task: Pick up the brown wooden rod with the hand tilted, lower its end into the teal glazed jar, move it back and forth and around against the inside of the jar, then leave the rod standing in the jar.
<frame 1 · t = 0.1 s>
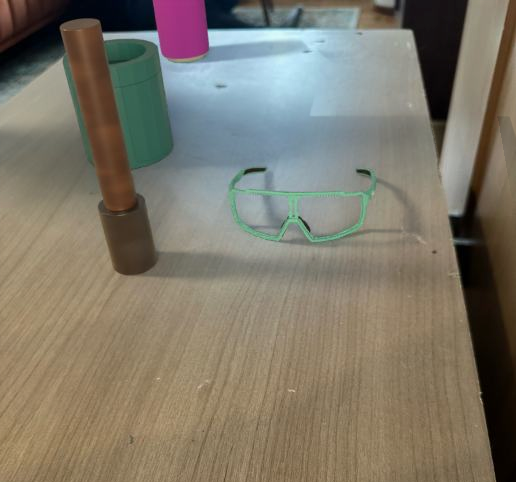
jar: (130, 150, 76), on the table
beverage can: (186, 57, 102), on the table
brown wooden rod: (135, 262, 58), on the table
sunglasses: (303, 207, 64), on the table
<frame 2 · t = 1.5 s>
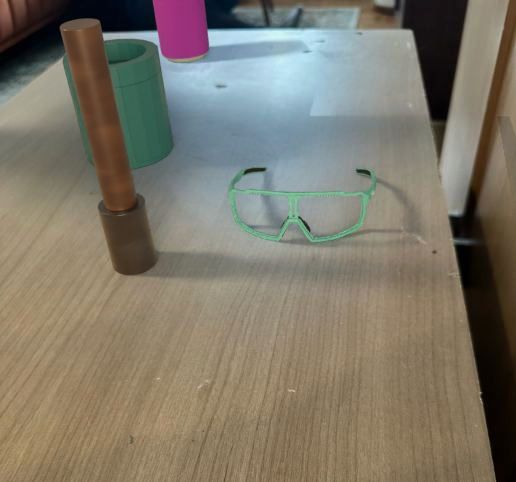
nothing on the table moved.
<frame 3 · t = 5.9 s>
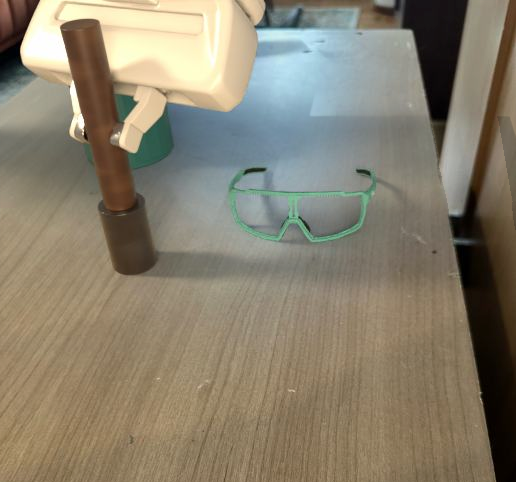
hand: (102, 145, 50), 11 cm above the table, tool tilted 45°, fingers closed on brown wooden rod, 3 cm apart
brown wooden rod: (135, 262, 58), on the table, touching gripper
everything else where it was.
when the fingers open (12 cm above the table, at t = 17.3 s): brown wooden rod stays where it is, resting on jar.
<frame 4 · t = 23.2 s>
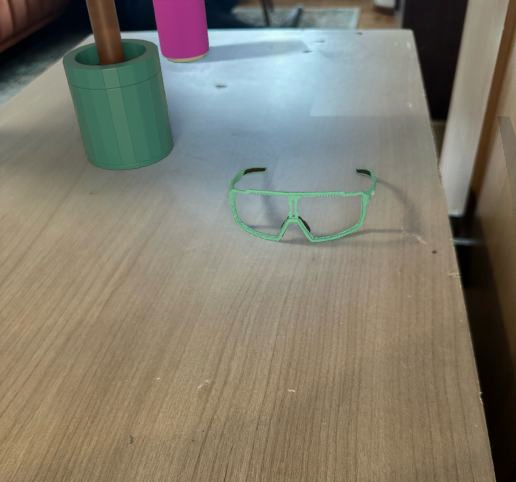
brown wooden rod: (130, 145, 76), point 1 cm above the table, touching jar
everything else where it was.
at the end: brown wooden rod 0.1 cm off-centre in the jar, point 0.6 cm above the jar's base; the gripper is holding nothing; brown wooden rod moved 24.4 cm from its start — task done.
